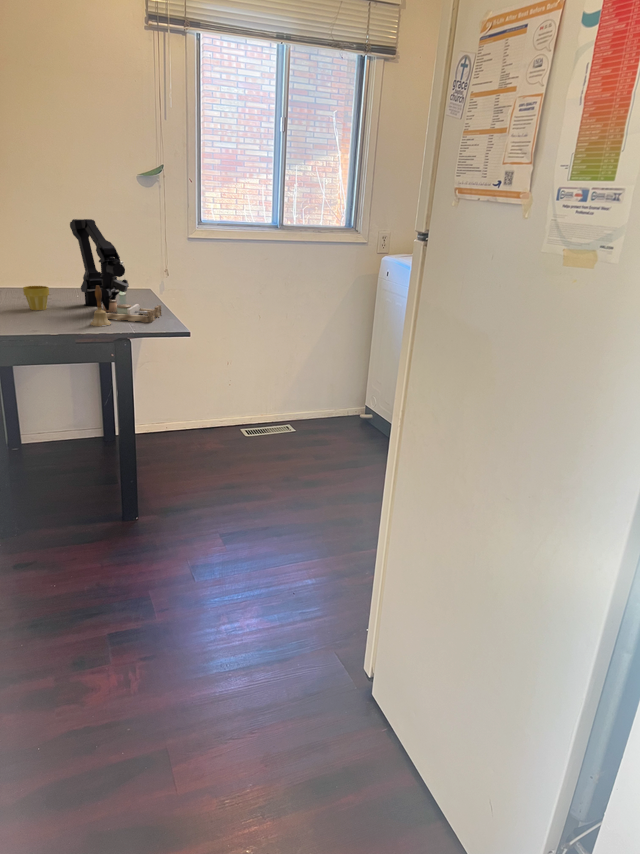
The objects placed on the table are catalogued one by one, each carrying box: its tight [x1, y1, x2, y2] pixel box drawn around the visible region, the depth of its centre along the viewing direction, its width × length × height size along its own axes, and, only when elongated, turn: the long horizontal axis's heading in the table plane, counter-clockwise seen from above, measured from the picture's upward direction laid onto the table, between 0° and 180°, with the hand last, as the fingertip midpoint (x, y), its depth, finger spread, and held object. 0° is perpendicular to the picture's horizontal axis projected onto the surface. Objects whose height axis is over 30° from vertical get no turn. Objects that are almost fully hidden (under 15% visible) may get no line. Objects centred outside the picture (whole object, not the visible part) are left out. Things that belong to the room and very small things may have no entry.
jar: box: [102, 299, 118, 313], centre depth 281 cm, size 6×6×5 cm
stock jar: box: [116, 303, 132, 315], centre depth 272 cm, size 6×6×5 cm
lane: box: [106, 304, 162, 323], centre depth 272 cm, size 21×16×5 cm
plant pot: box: [22, 285, 50, 311], centre depth 274 cm, size 10×10×10 cm
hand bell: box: [90, 285, 112, 327], centre depth 253 cm, size 8×8×16 cm
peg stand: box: [127, 303, 148, 315], centre depth 272 cm, size 7×13×4 cm, turn 178°
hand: (110, 308), depth 282 cm, fingers closed on jar, 6 cm apart
